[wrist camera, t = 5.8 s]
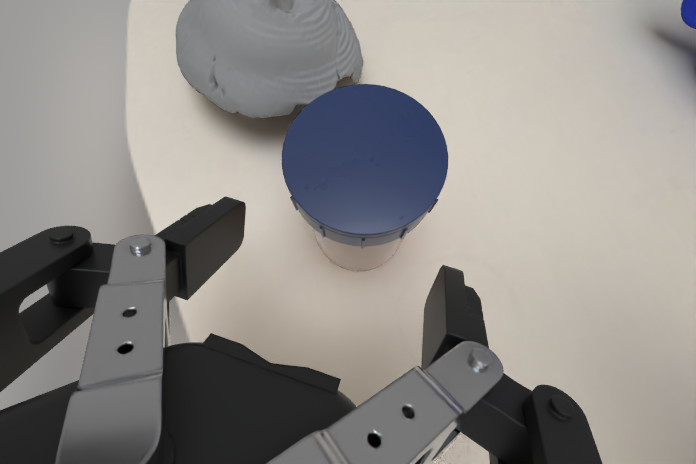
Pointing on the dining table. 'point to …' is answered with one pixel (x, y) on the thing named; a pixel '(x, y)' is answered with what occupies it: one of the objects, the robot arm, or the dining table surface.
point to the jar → (357, 253)
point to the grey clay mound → (266, 52)
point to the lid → (364, 164)
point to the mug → (689, 12)
